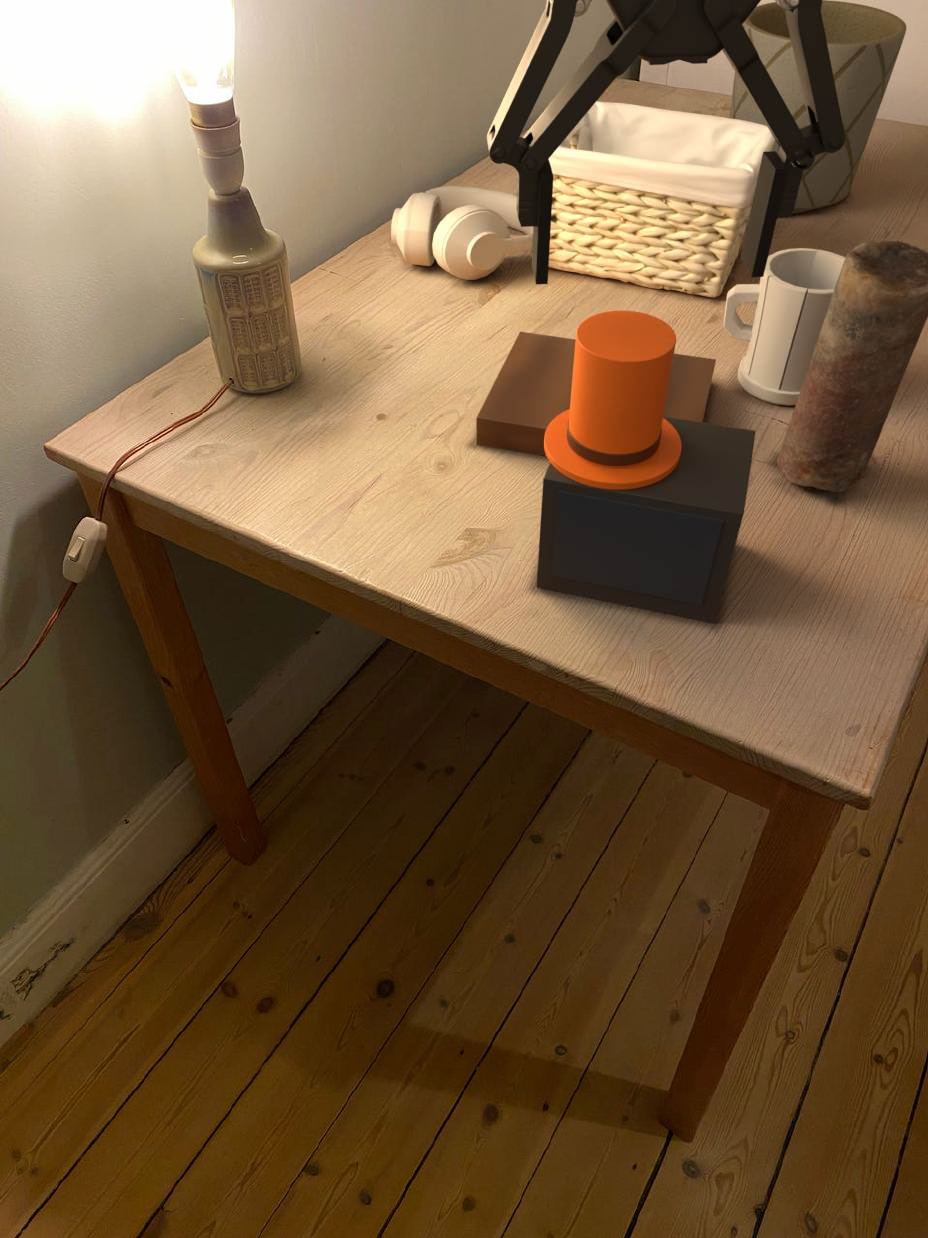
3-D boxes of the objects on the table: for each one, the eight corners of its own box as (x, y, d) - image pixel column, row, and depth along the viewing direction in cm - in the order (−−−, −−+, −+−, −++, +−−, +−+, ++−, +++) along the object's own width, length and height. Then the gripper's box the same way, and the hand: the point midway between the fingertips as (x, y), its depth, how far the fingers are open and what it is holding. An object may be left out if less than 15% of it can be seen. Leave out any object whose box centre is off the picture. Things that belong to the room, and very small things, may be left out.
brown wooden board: (710, 385, 92) (716, 359, 90) (689, 480, 82) (695, 453, 80) (519, 356, 96) (520, 331, 94) (476, 444, 86) (476, 417, 84)
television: (727, 539, 76) (755, 430, 68) (713, 625, 70) (743, 515, 62) (563, 509, 79) (573, 401, 71) (535, 589, 73) (542, 479, 65)
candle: (868, 462, 83) (951, 248, 69) (856, 510, 79) (942, 291, 64) (784, 442, 85) (847, 230, 71) (767, 487, 81) (830, 271, 66)
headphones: (489, 300, 103) (569, 255, 117) (495, 228, 98) (578, 190, 112) (359, 261, 110) (449, 223, 123) (358, 192, 105) (452, 160, 118)
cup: (746, 417, 88) (776, 301, 80) (705, 368, 94) (728, 255, 86) (843, 399, 90) (882, 284, 81) (796, 352, 96) (828, 240, 87)
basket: (754, 248, 113) (783, 119, 102) (728, 310, 102) (757, 173, 92) (569, 219, 119) (578, 94, 108) (527, 274, 109) (532, 143, 98)
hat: (688, 419, 69) (710, 308, 63) (669, 500, 63) (692, 386, 56) (560, 399, 72) (568, 289, 65) (529, 476, 65) (534, 362, 58)
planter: (683, 183, 126) (709, 15, 112) (780, 152, 133) (817, -9, 119) (786, 232, 116) (831, 54, 101) (886, 196, 123) (941, 24, 108)
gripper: (937, -184, 45) (821, 237, 61) (437, -171, 45) (448, 250, 60) (1004, -163, 40) (859, 292, 56) (440, -148, 40) (452, 306, 55)
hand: (645, 271), depth 58 cm, fingers open, 13 cm apart
